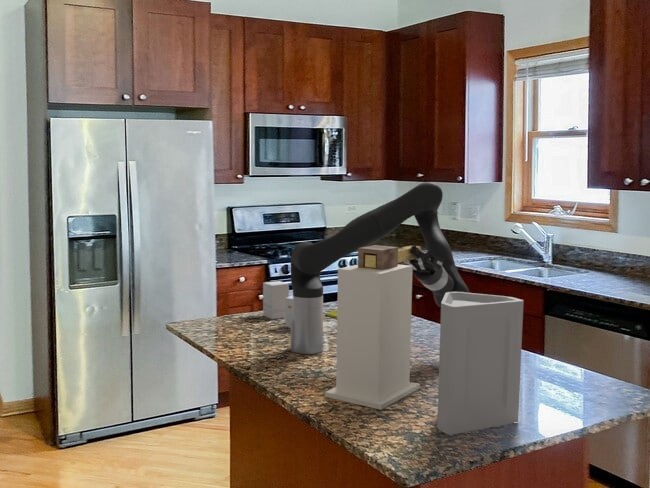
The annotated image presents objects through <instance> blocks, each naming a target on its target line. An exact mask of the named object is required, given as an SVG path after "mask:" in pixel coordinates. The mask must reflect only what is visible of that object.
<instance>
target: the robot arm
mask: <svg viewBox="0 0 650 488" xmlns="http://www.w3.org/2000/svg"><path fill="white" fill-rule="evenodd" d="M443 195H444V193H443V189H442V188H441V186H440V185H438V184H437V183H435V182H430V181H426V182H425V181H424V182H422V183H420V184H417V185H416V186H415V187H413V188H411V189H410V190H408V191H407V192H405V193H404V194H402V195H400V196H399V197H397V198H394V199H393V200H391V201H389V202H387V203H385V204H382V205H380V206H378V207H376V208H374V209H372V210H370V211H367V212H366V213H363V214H361V215H359V216H357V217H356V218H354V219H352V220H350V221H349V222H348V223H347V224H345V226H343V228H342V229H340V230H339V231H338V232H336V233H335V234H334V235H332V236H329V237H328V238H325V239H322V240H320V241H317V242H314V243H313V242H311V241H302V242H299V243H297V244H296V245H295V246H294V247H293V249H292V251H291V255H290V283H291V288H292V296H293V320H292V321H291V328H290V353H291V352H292V353H297V354H302V355H312V354H313V355H314V354H318V353H321V352H323V350H324V349H323V345H324V342H323V340H324V339H323V338H324V337H323V335H324V334H323V333H324V331H323V330H324V327H323V326H324V323H323V322H324V286H323V284H322V282H321V272H322V271H324V270H326V269H327V268H329V266H332V265H333V264H335V262H337V261H339V260H341V259H342V258H344V257H345V256H348V255H350V254H353V253H355V252H358V248H362V247H367V246H371V245H372V244H374V243H375V242H379V240H381V239H383V238H385V237H386V236H388V235H389V234H391V233H392V232H393V231H394V230H395V229H397V228H398V227H399V226H401V224H403V223H404V222H405V221H407V220H408V219H410V218H411V217H413V216H414V218H415V220H416V223H417V224H418V227H419V229H420V232H421V235H422V237H423V240H424V243H425V247H426V250H427V251H426V252H425V251H423V250H421V251H420V250H419V249H418V248H417V247H416V246H417V245H411V246H412V248H411V254H412V255H413V256H414V257H415V258H416V259H412V260H408V261H403V262H399V263H398V264H400V265H409V266H413V268H412V275H413V276H414V277H415V278H416V279H417V280H418V281H419V282H420V283H421V284H422V285H423V286H424V287H425V288H426V289H428V290H429V291H431V293H432V295H433V300H434V302H435V304H436V306H437V307H438V308H440V309H441V302H442V300H443V297H444V295H445V293H446V292H465V293H470V290H469V288H468V286H467V284H466V283H465V281H464V279H463V278H462V276H461V275H460V273H459V271H458V269H457V265H456V264H455V263H456V262H455V260H454V256H453V252H452V250H451V247H450V244H449V243H448V241H447V239H446V237H445V236H444V234H443V232H442V229H441V226H440V222H439V215H438V210H439V207H441V203H442V200H443ZM402 247H406V246H405V245H404V244H399V245H398V248H402Z"/></svg>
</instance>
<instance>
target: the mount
mask: <svg viewBox="0 0 650 488" xmlns="http://www.w3.org/2000/svg"><path fill="white" fill-rule="evenodd" d="M398 248H399V246H387V245H377V244H374V245H368V246H365V247H362V248H358V250H357V264H354V265H349V266H343V267H340V268H337V300H336V301H337V308H336V309H337V310H336V311H337V318H336V319H337V320H336V376H335V377H336V379H335V382H336V383H335V384H336V385H335V387H332V388H330V389H328V390H326V391H325V392H324V397H325V398H329V399H334V400H338V401H342V402H346V403H350V404H355V405H359V406H363V407H368V408H372V409H376V410H380V411H382V410H383V409H385V408H387V407H388V406H391V405H392V404H394V403H396V402H398V401H400V400H401V399H403V398H405V397H407V396H409V395H410V394H412V393H414V392H416V391H417V390H419V389H420V388H421V383H418V382H413V381H410V378H411V377H410V376H411V375H410V373H411V344H412V343H411V340H412V339H411V337H412V336H411V335H412V334H411V333H412V306H413V305H412V304H413V303H412V301H413V300H412V298H413V294H412V293H413V271H412V268H413V266H409V265H407V264H402V265H400V264H398ZM371 253H372V254H377V265H376V268H371V267H365V255H366V254H371Z"/></svg>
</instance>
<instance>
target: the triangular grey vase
mask: <svg viewBox="0 0 650 488" xmlns="http://www.w3.org/2000/svg"><path fill="white" fill-rule="evenodd" d="M524 302H525V301H524V299H520V298H517V297H513V296H505V295H495V294H487V293H485V294H484V293H474V292H473V293H472V292H469V293H465V292H446V293H445V295H444V297H443V300H442V302H441V308H440V329H439V331H440V332H439V333H440V334H439V359H438V360H439V362H438V369H439V370H438V388H437V389H438V393H437V394H438V395H437V421H436V423H437V429H438V430H439V431H441V432H443V433H444V434H446V435H456V434H462V433H463V434H464V433H469V432H474V431H479V430H480V431H482V430H486V429H485V428H487V429H490V428H489V427H493V428H496V427H495V426H498V427H502V426H501V425H504V426H507V425H506V424H510V425H512V424H511V423H514V422H518V423H519V413H520V409H519V407H520V390H521V389H520V385H521V367H522V345H523V344H522V343H523V320H524Z"/></svg>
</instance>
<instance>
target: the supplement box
mask: <svg viewBox="0 0 650 488" xmlns="http://www.w3.org/2000/svg"><path fill="white" fill-rule="evenodd" d="M289 286H290V284H289V283H287V282H284V281H280V280H278V281H265V282H262V297H263V298H262V315H263V316H264V317H266V318H269V319H271V320H275V319H276V320H277V319H285V298H287V297H289V296H290V287H289Z"/></svg>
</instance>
